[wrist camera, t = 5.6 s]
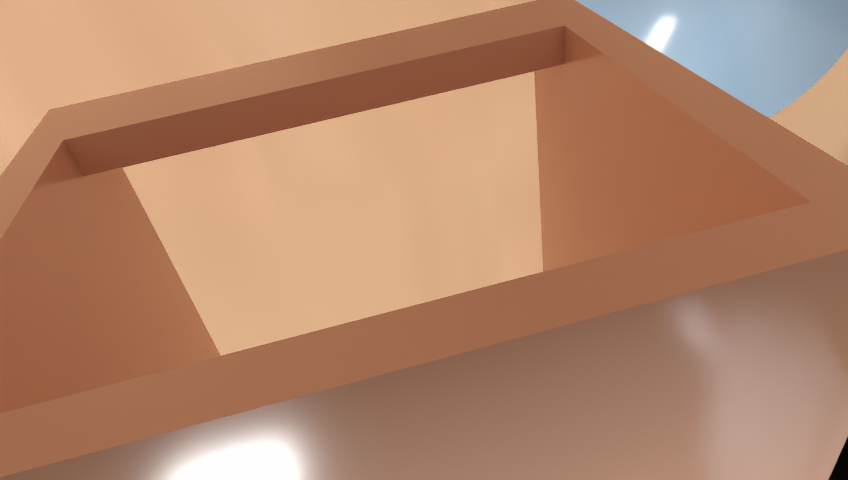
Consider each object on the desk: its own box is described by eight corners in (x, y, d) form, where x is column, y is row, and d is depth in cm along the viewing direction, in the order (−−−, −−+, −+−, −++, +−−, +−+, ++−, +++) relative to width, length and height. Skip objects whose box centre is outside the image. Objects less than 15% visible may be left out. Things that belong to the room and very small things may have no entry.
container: (565, -7, 9) (943, 223, 4) (569, 343, 13) (748, 658, 8) (49, 109, 8) (-276, 551, 3) (233, 434, 12) (212, 830, 8)
